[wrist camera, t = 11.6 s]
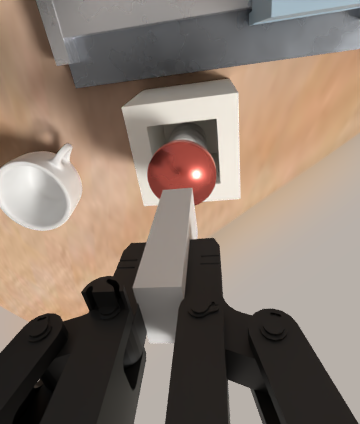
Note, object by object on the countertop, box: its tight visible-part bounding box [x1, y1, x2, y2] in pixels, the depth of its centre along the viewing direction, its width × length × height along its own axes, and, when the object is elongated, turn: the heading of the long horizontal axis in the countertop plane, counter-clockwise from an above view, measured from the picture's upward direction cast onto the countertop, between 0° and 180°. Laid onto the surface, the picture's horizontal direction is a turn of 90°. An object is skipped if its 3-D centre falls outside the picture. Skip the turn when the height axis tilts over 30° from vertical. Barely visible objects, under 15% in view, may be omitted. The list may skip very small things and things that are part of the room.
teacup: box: [0, 143, 82, 231], centre depth 29 cm, size 10×8×5 cm
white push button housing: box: [121, 78, 240, 206], centre depth 24 cm, size 8×8×8 cm
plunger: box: [147, 122, 216, 206], centre depth 21 cm, size 4×4×8 cm
